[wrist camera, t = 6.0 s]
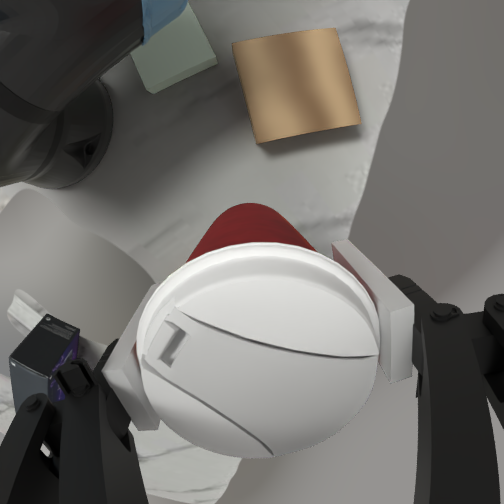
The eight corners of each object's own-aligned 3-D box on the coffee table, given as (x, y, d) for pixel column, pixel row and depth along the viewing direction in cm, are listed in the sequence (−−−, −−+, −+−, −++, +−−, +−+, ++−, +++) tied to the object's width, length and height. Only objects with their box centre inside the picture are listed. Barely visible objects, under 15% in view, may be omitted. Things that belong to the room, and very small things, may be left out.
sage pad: (153, 94, 32) (146, 90, 30) (130, 41, 30) (121, 33, 27) (218, 63, 32) (215, 56, 29) (191, 11, 29) (187, 1, 26)
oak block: (256, 144, 35) (257, 143, 31) (232, 54, 31) (231, 43, 27) (349, 125, 34) (361, 123, 30) (326, 38, 31) (335, 27, 27)
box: (76, 401, 46) (51, 448, 35) (45, 385, 45) (16, 429, 34) (83, 329, 42) (47, 379, 30) (46, 311, 41) (4, 354, 29)
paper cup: (172, 261, 22) (94, 409, 8) (231, 163, 20) (208, 192, 7) (268, 315, 23) (293, 484, 10) (331, 227, 21) (444, 343, 8)
